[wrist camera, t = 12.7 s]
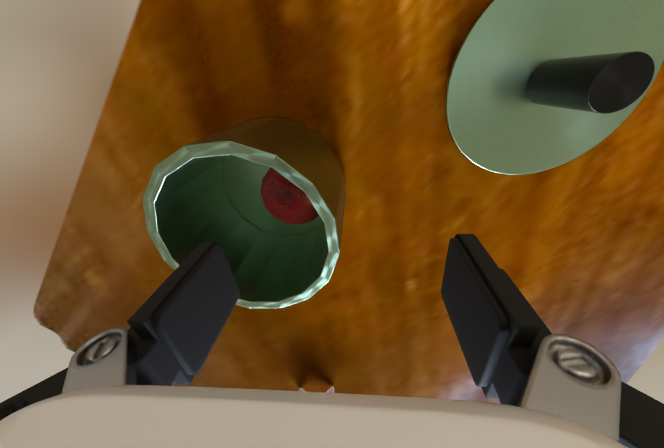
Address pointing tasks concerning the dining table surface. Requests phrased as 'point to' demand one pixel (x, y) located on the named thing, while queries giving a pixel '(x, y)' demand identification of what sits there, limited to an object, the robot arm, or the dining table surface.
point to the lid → (550, 79)
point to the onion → (286, 199)
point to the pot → (251, 208)
